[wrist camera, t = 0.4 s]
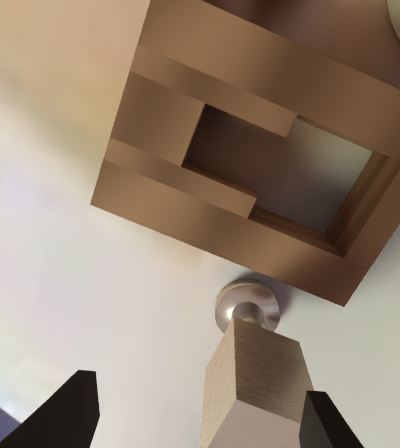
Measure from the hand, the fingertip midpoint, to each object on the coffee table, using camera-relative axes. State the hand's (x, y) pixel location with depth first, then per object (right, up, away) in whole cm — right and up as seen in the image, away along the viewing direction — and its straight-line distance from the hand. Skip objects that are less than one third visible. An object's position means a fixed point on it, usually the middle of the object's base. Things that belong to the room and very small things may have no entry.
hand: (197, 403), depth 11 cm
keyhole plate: (+3, +10, +7) cm, 12 cm away
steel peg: (+3, +1, +10) cm, 11 cm away
